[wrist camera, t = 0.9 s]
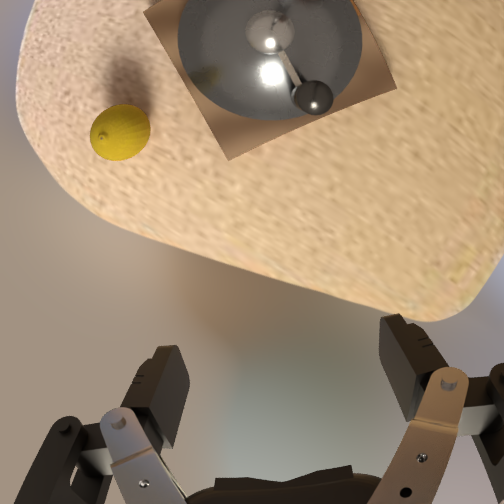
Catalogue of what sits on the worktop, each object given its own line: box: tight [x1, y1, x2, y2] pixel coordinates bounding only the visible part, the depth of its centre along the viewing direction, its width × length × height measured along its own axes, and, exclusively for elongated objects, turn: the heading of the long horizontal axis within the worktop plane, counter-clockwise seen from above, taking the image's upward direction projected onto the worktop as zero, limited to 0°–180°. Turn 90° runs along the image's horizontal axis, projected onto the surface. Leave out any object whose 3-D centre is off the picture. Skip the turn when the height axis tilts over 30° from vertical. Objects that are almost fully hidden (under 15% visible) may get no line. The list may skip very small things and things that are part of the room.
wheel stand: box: [143, 0, 397, 161], centre depth 25 cm, size 18×18×3 cm
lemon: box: [90, 104, 150, 161], centre depth 27 cm, size 6×6×8 cm
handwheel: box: [178, 0, 362, 120], centre depth 20 cm, size 16×16×9 cm
